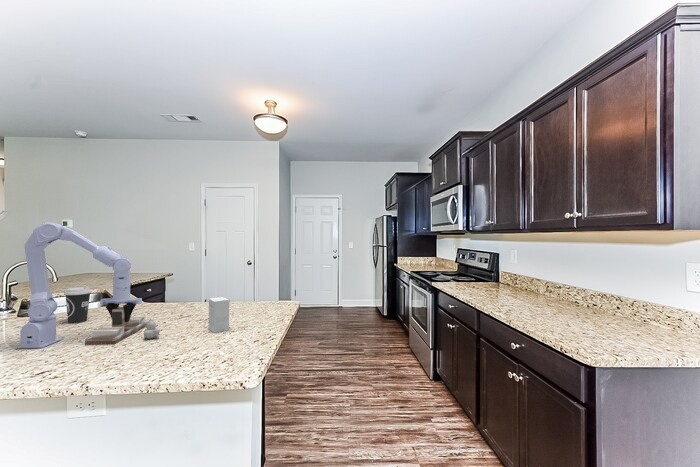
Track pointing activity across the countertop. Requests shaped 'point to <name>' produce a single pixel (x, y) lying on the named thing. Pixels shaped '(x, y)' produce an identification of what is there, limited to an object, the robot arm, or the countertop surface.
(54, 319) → the robot arm
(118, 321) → the block
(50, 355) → the countertop surface
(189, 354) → the countertop surface
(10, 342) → the countertop surface
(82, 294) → the coffee cup
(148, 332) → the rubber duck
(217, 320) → the small box
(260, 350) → the countertop surface
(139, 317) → the rail board
